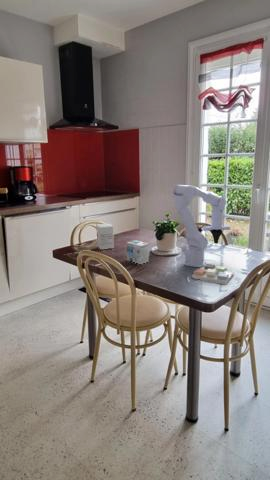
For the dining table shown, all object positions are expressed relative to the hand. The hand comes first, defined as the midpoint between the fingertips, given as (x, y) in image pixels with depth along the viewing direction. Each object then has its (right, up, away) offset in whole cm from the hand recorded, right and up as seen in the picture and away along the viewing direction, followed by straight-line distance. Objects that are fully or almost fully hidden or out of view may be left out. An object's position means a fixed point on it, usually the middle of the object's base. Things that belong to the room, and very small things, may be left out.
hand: (215, 243), depth 178 cm
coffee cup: (-7, -3, +25) cm, 27 cm away
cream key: (-9, -14, -26) cm, 31 cm away
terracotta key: (-13, -14, -23) cm, 30 cm away
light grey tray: (-7, -16, -23) cm, 29 cm away
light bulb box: (-43, -10, +1) cm, 44 cm away
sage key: (-3, -13, -22) cm, 26 cm away
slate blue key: (-4, -16, -28) cm, 33 cm away
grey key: (-8, -12, -20) cm, 24 cm away
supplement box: (-63, -4, +27) cm, 68 cm away
